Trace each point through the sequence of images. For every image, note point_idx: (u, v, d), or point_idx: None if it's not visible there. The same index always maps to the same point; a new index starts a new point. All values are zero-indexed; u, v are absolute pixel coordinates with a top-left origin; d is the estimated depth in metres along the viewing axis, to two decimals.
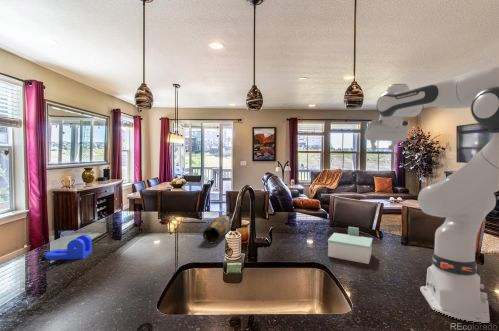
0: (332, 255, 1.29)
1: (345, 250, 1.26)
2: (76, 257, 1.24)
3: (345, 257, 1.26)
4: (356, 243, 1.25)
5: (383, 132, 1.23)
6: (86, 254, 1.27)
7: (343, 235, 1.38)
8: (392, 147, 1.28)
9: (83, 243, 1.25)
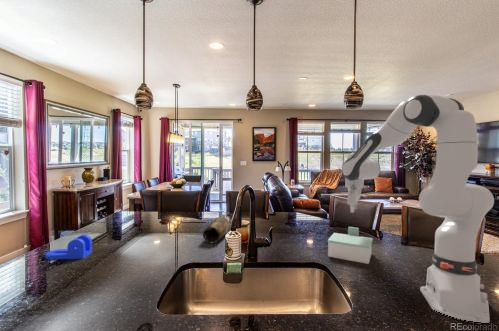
0: (332, 255, 1.29)
1: (345, 250, 1.26)
2: (76, 257, 1.24)
3: (345, 257, 1.26)
4: (356, 243, 1.25)
5: (356, 195, 1.36)
6: (86, 254, 1.28)
7: (343, 235, 1.38)
8: (356, 206, 1.43)
9: (83, 243, 1.25)
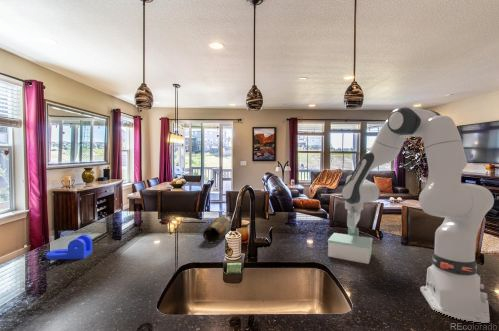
0: (332, 255, 1.29)
1: (345, 250, 1.26)
2: (77, 257, 1.24)
3: (345, 257, 1.26)
4: (356, 243, 1.25)
5: (356, 217, 1.37)
6: (87, 254, 1.28)
7: (343, 235, 1.38)
8: None
9: (84, 243, 1.25)
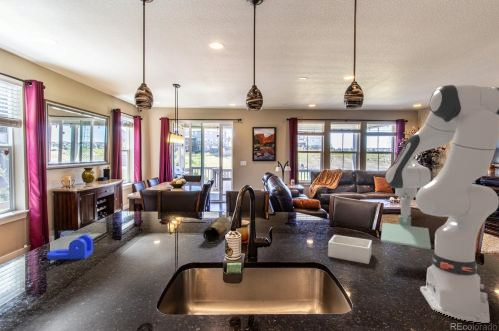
0: (332, 255, 1.29)
1: (345, 250, 1.26)
2: (78, 257, 1.24)
3: (345, 257, 1.26)
4: (414, 242, 1.15)
5: None
6: (87, 254, 1.28)
7: (394, 227, 1.27)
8: None
9: (85, 243, 1.25)
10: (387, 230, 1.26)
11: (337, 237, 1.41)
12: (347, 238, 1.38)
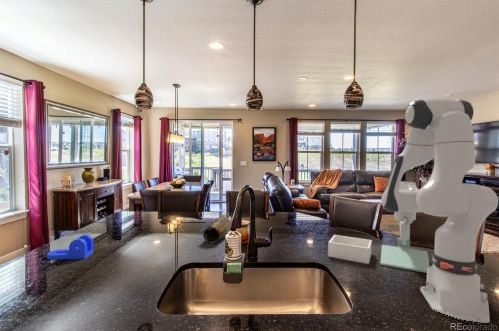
0: (332, 255, 1.29)
1: (345, 250, 1.26)
2: (78, 257, 1.24)
3: (345, 257, 1.26)
4: (413, 266, 1.16)
5: None
6: (88, 254, 1.28)
7: (394, 249, 1.28)
8: None
9: (85, 243, 1.25)
10: (386, 253, 1.26)
11: (337, 237, 1.41)
12: (347, 238, 1.38)
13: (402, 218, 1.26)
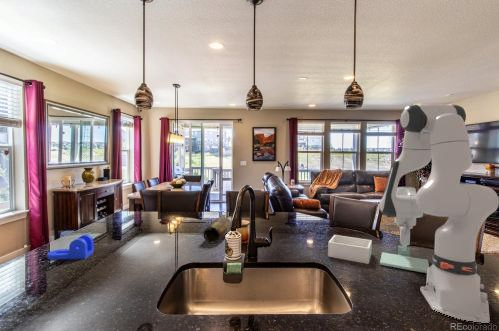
0: (332, 255, 1.29)
1: (345, 250, 1.26)
2: (78, 257, 1.24)
3: (345, 257, 1.26)
4: (413, 266, 1.15)
5: None
6: (88, 254, 1.28)
7: (394, 255, 1.27)
8: None
9: (85, 243, 1.25)
10: (386, 257, 1.26)
11: (337, 237, 1.41)
12: (347, 238, 1.38)
13: (402, 223, 1.25)
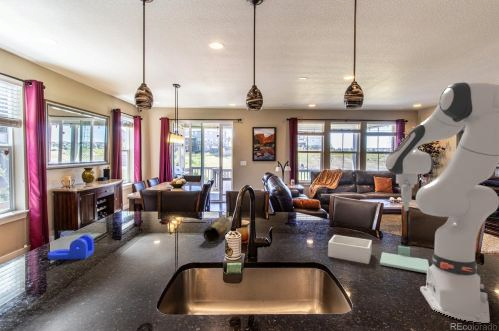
0: (332, 255, 1.29)
1: (345, 250, 1.26)
2: (78, 257, 1.24)
3: (345, 257, 1.26)
4: (413, 266, 1.15)
5: None
6: (88, 254, 1.28)
7: (394, 255, 1.27)
8: None
9: (85, 243, 1.25)
10: (386, 257, 1.26)
11: (337, 237, 1.41)
12: (347, 238, 1.38)
13: (404, 182, 1.25)
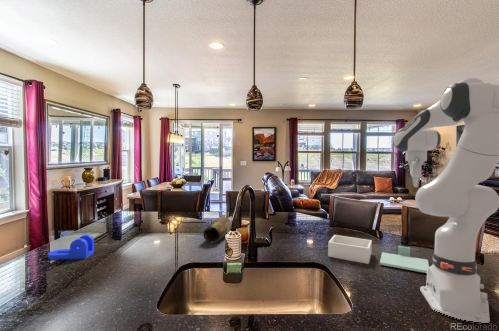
0: (332, 255, 1.29)
1: (345, 250, 1.26)
2: (79, 257, 1.24)
3: (345, 257, 1.26)
4: (413, 266, 1.15)
5: None
6: (89, 254, 1.28)
7: (394, 255, 1.27)
8: None
9: (86, 243, 1.25)
10: (386, 257, 1.26)
11: (337, 237, 1.41)
12: (347, 238, 1.38)
13: (413, 159, 1.28)
